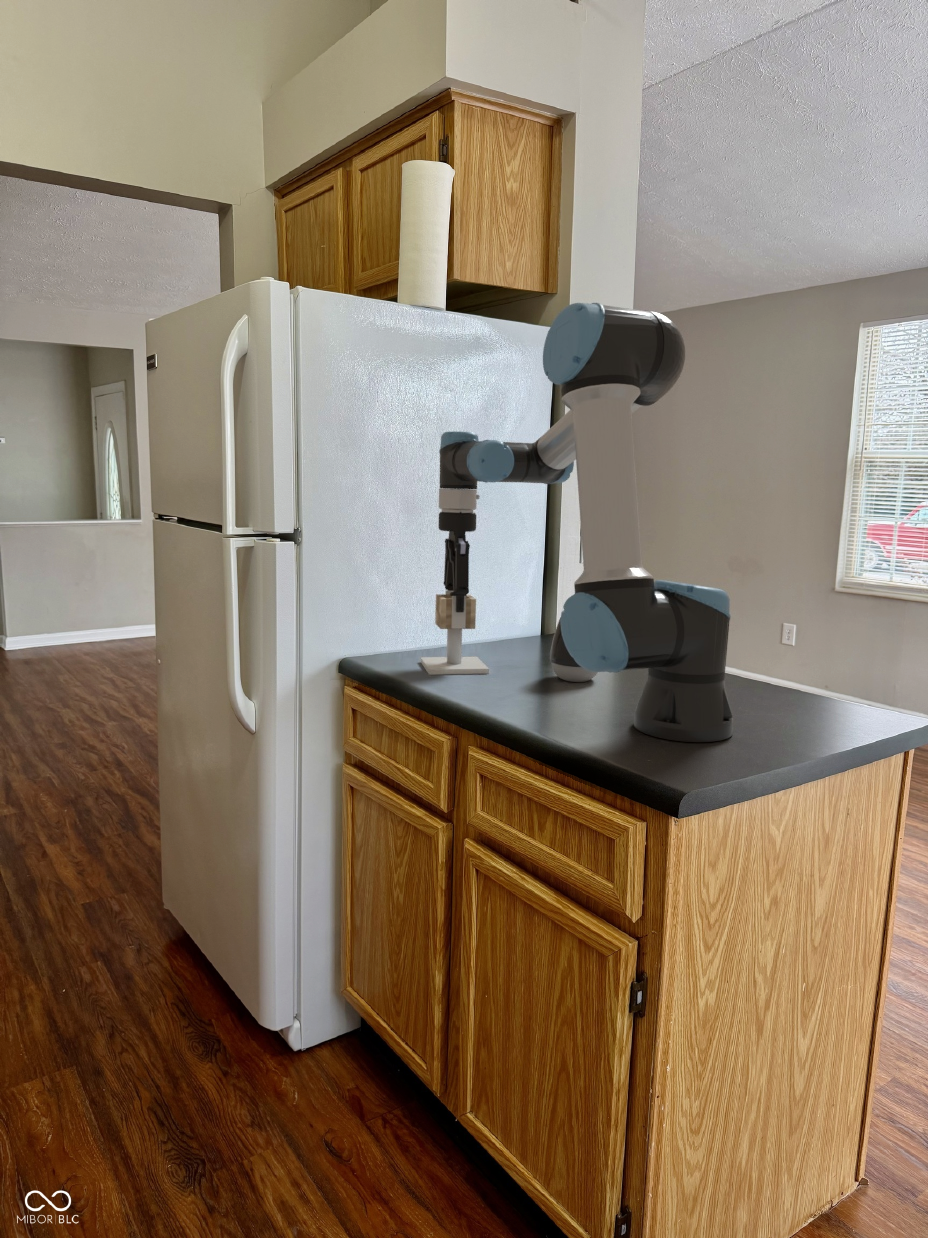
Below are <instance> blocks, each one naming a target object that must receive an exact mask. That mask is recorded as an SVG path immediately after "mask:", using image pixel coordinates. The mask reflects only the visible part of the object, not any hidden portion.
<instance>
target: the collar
mask: <svg viewBox="0 0 928 1238" xmlns="http://www.w3.org/2000/svg"><path fill="white" fill-rule="evenodd" d="M434 611H435V614H434V615H435V617H434V618H435V619H434V621H435V622H434V624H435V625H436V626H437V627H438V628H439V629H440V630H447V629H452V628H451V621H452V596H450V595H446V594H445V593H444V594H435V610H434ZM476 611H477V599H476V597H474V596H472V595H471V594H467V595H466V623H465V628H458V629H462V630H476V621H477V620H476V618H477V617H476V614H477V612H476Z"/></svg>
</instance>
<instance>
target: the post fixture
mask: <svg viewBox="0 0 928 1238" xmlns="http://www.w3.org/2000/svg"><path fill="white" fill-rule="evenodd" d="M446 631H447V633H446V634H447V636H446V656H434V657H433V656H432V657H431V656H430V657H429V656H424V657H420V663H421V665H422V666H423V668H424V669H425V670H426V672H427V674H428V675H429V676H432V675H475V674H476V675H478V674H479V675H480V674H481V675H482V674H485V675H487V674H490V668H489V667H488V666H487V665H486V664H485V663H484V662H483V661H482V660H481V659H480V658H479V657H478V656H462V653H463V652H462V649H463V647H462V646H463V629H446Z"/></svg>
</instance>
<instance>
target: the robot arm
mask: <svg viewBox="0 0 928 1238" xmlns="http://www.w3.org/2000/svg"><path fill="white" fill-rule="evenodd" d="M685 360H686V346H685V341H684V338H683V335H682V334H681V331H680V329H679V328H678V326H677V325H676V324H675V323H674V321H672V320H671V319H670V318H668V317H667V316H665V315H663V314H661V313H659V312H657V311H656V312H655V311H652V310H640V309H632V308H626V307H619V306H612V305H605V304H601V303H599V302H591V303H585V302H575V303H574V302H573V303H571V304H568V305H567V306H565V307H564V308H563V309H562V310H560V311H559V313H557V314H556V316H555V318H554V319H553V321H552V323H551V325H550V328H549V329H548V331H547V334H546V337H545V341H544V344H543V351H542V367H543V371H544V372H543V373H544V374H545V376H546V377H547V379H548V380H549V381H550V382H551V383H553V384H554V385H557V386H560V395H561V402H562V404H563V405H564V406H565V407H566V408H568V409H569V410H568V411H567V412H566V413H565V414H564V415H563V416H562V417H561V418H560V419H559V420H558V421H557V422H555V423H554V424H553V425H552V426H551V427H550V428H549V429H548V430H546V432H544V434H542V435H541V436H540V437H539V438H538V439H537V440H536V441H535V442H532V443H531V442H512V441H511V442H510V441H499V440H496V439H495V440H493V439H483V440H479V435H478V434H477V433H476V432H474V431H473V432H472V431H456V430H455V431H445V432H443V433H442V434H441V436H440V448H439V451H438V452H439V488H438V509H440V510H441V511H440V512H439V513H438V530H439V531H440V532H441V531H442V532H448V537H447V538H445V539H444V543H445V544H444V545H445V546H444V548H445V550H444V553H445V554H444V575H443V576H444V577H443V586H444V589H445V593H444V594H446V595H450V596H452V621H451V628H452V629H458V628H465V623H466V595H469V592H470V589H469V587H470V586H469V585H470V583H469V582H470V580H469V579H470V577H469V575H470V573H469V572H470V571H469V570H470V566H469V565H470V558H469V557H470V548H471V547H470V546H471V545H470V543H469V541H468V540H467V537H466V532H468V533H469V532H475V531H476V530H477V514H476V512H474V510H477V500H479V499H480V498H481V497H480V494H478V491H477V490H478V482H479V483H480V482H483V483H486V484H487V483H522V484H523V483H525V484H526V483H529V484H544V485H553V484H562V483H565V482H567V480H569V478H570V477H571V474H572V473H573V470H574V467H575V466H576V475H577V478H576V479H577V489H578V490H577V491H578V505H579V506H578V507H579V508H578V509H579V519H580V520H579V521H580V523H579V524H580V534H581V549H582V550H581V551H582V564H583V571H582V572H581V574H580V575H579V577H578V578H577V579H576V580H575V581H574V585H573V586H574V594H572V595H571V596H569V597H568V598H567V599H566V600H565V602H564V603H563V605H562V606H563V610H562V611H561V612H560V617H561V632H562V637H563V640H564V643H565V646H566V648H567V650H568V652H569V654H570V655H571V657H573V658H574V660H575V662H576V663H577V664H578V665H580V666H581V667H582V668H584V669H586V670H588V671H592V672H598V673H605V672H607V673H614V674H615V673H620V672H622V671H623V672H624V671H633V670H643V669H648V671H647V680H646V683H645V685H644V688H643V690H642V692H641V694H640V697H639V699H638V702H637V704H636V708H635V710H634V717H633V726H634V728H635V729H637V731H639V732H641V733H642V734H645V735H648V736H651V737H655V738H659V739H662V740H663V739H664V740H669V741H676V742H685V743H686V742H687V743H712V742H719V741H723V740H727V739H729V738H730V737H732V735H733V731H734V730H733V729H734V717H733V713H732V709H731V706H730V701H729V698H728V694H727V690H726V686H725V681H726V680H725V678H726V667H727V665H726V664H727V653H728V644H729V643H728V642H729V631H730V622H731V621H730V620H731V618H732V617H731V614H730V605H731V603H730V601H731V599H730V596H729V594H728V593H727V592H726V591H725V590H723V589H721V588H716V587H711V586H704V585H699V584H691V583H685V582H677V581H672V580H671V581H670V580H665V579H663V580H662V579H657V580H655V579H654V576H653V575H652V574H651V573H650V572H649V571H648V570H646V569H645V568H644V566H643V557H642V545H641V542H642V541H641V529H640V517H639V516H640V515H639V504H638V503H639V500H638V498H639V497H638V487H637V485H638V484H637V475H636V473H637V472H636V471H637V469H636V459H635V458H636V457H635V442H634V441H635V440H634V429H633V417H632V415H633V413H635V412H636V411H638V409H640V408H641V407H644V408H645V407H650V406H652V405H654V404H655V403H657V402H658V401H659V400H660V399H662V398H663V397H664V396H665V395H666V394H667V393H669V392H670V390H671V389H672V388H673V387H674V386H675V385H676V384H677V382H678V380H679V378H680V377H681V374H682V373H683V370H684V366H685ZM575 463H576V464H575ZM574 465H575V466H574Z"/></svg>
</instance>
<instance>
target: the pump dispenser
mask: <svg viewBox="0 0 928 1238" xmlns="http://www.w3.org/2000/svg"><path fill="white" fill-rule="evenodd" d="M556 625H557V626H556V629H555V631H554V634H553V638H552V642H551V647H550V651H549V661H550V662H551V667H552V670H553V672H554V673H555V674H556V676H557V677H558V678H560V679H561V680H563V681H566V682H572V683H585V682H588V681H590V680H592V679H594V678H595V677H596V676H597V675H598V673H599V672H592V671H588V670H586V669H584V668H582V667H581V666H580V665H578V664H577V663H576V662H575V660H574V658H573V657H571V655H570V654H569V652H568V650H567V648H566V646H565V643H564V640H563V637H562V632H561V616H560V618H559V620H558V622H557V624H556Z"/></svg>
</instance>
